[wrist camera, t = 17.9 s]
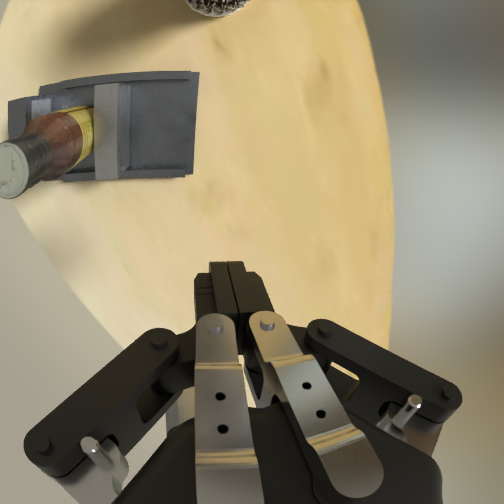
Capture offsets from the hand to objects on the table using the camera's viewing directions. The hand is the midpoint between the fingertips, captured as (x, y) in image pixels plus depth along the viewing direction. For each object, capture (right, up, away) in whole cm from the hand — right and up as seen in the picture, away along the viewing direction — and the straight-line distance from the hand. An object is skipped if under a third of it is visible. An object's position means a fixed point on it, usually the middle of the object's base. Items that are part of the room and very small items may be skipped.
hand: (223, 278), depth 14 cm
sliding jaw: (-15, +16, +17) cm, 28 cm away
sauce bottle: (-19, +16, +17) cm, 30 cm away
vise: (-16, +17, +18) cm, 30 cm away
